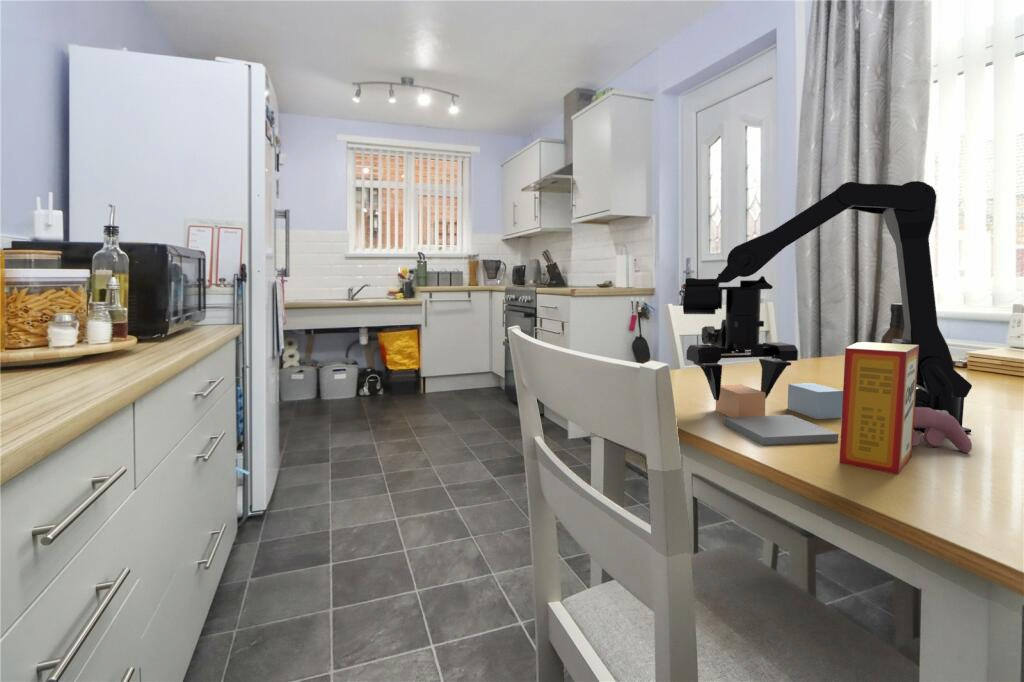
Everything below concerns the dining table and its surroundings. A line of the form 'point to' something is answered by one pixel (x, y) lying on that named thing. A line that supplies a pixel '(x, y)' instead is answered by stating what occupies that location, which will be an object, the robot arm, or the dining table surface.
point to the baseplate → (780, 429)
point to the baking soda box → (878, 405)
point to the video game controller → (939, 429)
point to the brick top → (815, 400)
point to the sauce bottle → (895, 324)
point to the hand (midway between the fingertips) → (740, 399)
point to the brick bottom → (741, 401)
